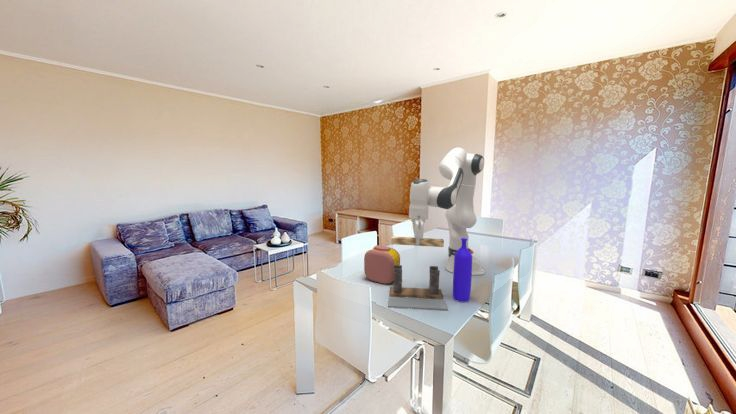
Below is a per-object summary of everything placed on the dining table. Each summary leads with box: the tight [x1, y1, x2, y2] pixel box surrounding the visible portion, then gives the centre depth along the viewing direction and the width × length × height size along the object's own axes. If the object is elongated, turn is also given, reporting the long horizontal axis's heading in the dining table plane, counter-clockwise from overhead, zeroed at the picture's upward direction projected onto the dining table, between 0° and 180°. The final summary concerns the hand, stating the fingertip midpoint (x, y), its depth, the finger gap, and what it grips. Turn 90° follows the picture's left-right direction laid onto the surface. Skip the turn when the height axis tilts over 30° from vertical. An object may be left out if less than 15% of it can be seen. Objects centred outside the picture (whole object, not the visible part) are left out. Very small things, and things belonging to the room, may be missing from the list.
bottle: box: [452, 238, 473, 303], centre depth 132 cm, size 8×8×30 cm
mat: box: [387, 297, 449, 311], centre depth 128 cm, size 27×8×1 cm, turn 84°
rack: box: [389, 264, 444, 300], centre depth 138 cm, size 26×8×14 cm, turn 84°
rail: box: [390, 236, 445, 248], centre depth 129 cm, size 24×3×3 cm, turn 83°
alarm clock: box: [363, 244, 401, 285], centre depth 155 cm, size 18×11×19 cm, turn 61°
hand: (417, 243), depth 129 cm, fingers closed on rail, 3 cm apart
